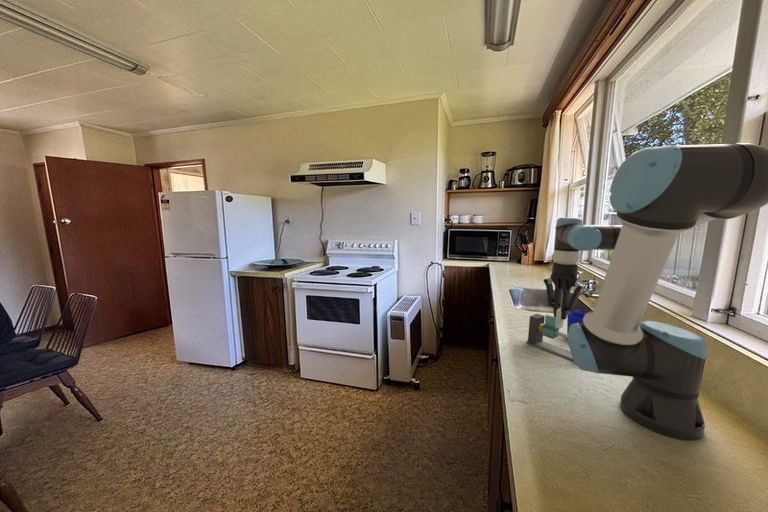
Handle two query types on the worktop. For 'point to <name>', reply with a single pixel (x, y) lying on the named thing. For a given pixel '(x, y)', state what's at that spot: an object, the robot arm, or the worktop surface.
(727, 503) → the worktop surface
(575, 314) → the mug
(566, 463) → the worktop surface
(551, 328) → the sleeve
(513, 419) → the worktop surface
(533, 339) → the grey slider rail stand
